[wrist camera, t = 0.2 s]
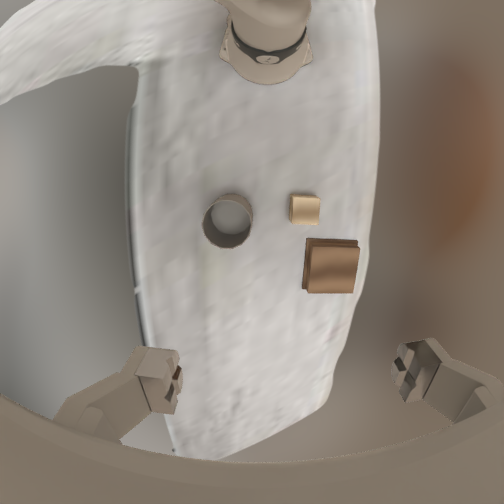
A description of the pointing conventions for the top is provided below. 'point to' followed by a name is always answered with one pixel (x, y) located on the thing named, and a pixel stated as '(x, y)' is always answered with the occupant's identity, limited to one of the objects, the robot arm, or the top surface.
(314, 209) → the maple cube
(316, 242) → the walnut pedestal
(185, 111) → the top surface
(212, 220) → the cup
